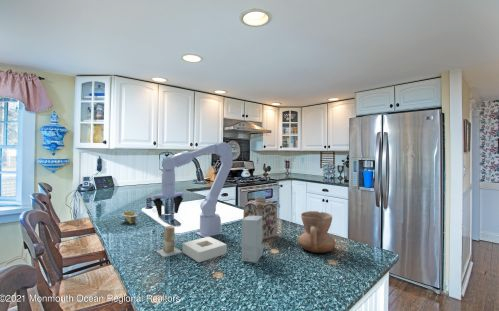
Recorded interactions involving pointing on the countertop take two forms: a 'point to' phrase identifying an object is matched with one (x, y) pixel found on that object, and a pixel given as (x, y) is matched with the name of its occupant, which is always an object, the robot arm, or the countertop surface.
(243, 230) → the skincare box
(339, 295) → the countertop surface
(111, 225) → the countertop surface
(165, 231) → the wooden square post
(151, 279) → the countertop surface
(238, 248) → the countertop surface
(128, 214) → the gold pronged connector
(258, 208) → the decorative jar
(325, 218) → the ceramic jug
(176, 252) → the mat
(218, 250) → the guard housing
